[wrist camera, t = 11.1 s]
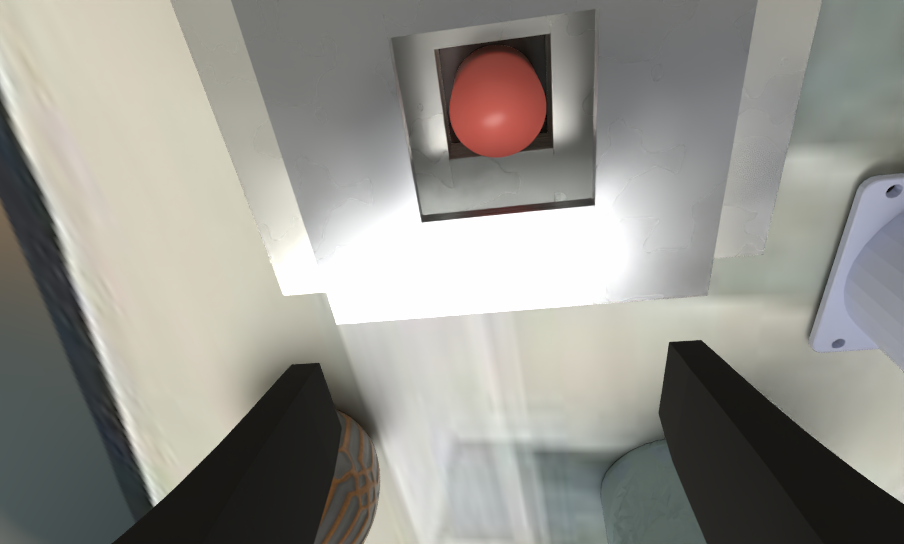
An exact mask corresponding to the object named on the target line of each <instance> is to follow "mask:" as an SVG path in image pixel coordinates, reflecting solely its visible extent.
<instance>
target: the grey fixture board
mask: <svg viewBox="0 0 904 544" xmlns="http://www.w3.org/2000/svg"><path fill="white" fill-rule="evenodd" d="M821 2H822V0H171V3H172V6H173V8H174V11H175V14H176V16H177V19H178V21H179V24H180V27H181V29H182V32H183V34H184V37H185V40H186V42H187V45H188V47H189V50H190V53H191V55H192V58H193V61H194V63H195V66H196V68H197V71H198V74H199V76H200V79H201V81H202V84H203V87H204V89H205V92H206V94H207V97H208V100H209V102H210V105H211V108H212V110H213V113H214V115H215V118H216V121H217V123H218V126H219V128H220V131H221V134H222V136H223V139H224V141H225V144H226V147H227V149H228V152H229V155H230V157H231V160H232V162H233V165H234V168H235V170H236V173H237V175H238V178H239V181H240V183H241V186H242V188H243V191H244V194H245V196H246V199H247V202H248V204H249V207H250V209H251V212H252V215H253V217H254V220H255V222H256V225H257V228H258V230H259V233H260V235H261V238H262V241H263V243H264V246H265V249H266V251H267V254H268V256H269V259H270V262H271V264H272V267H273V269H274V272H275V275H276V277H277V280H278V282H279V285H280V288H281V290H282V293H283V296H285V295H297V294H308V293H320V292H326V293H327V296H328V300H329V303H330V306H331V309H332V312H333V315H334V318H335V321H336V324H350V323H363V322H376V321H388V320H401V319H414V318H427V317H439V316H452V315H465V314H478V313H490V312H503V311H516V310H529V309H541V308H554V307H567V306H580V305H592V304H605V303H618V302H631V301H643V300H656V299H669V298H682V297H694V296H707V294H708V288H709V282H710V277H711V271H712V265H713V259H716V258H728V257H739V256H751V255H763V253H764V248H765V244H766V240H767V235H768V231H769V227H770V222H771V218H772V214H773V209H774V205H775V201H776V196H777V192H778V188H779V184H780V179H781V175H782V171H783V166H784V162H785V158H786V153H787V149H788V145H789V140H790V136H791V132H792V127H793V123H794V119H795V115H796V110H797V106H798V102H799V97H800V93H801V89H802V84H803V80H804V76H805V71H806V67H807V63H808V58H809V54H810V50H811V46H812V41H813V37H814V33H815V28H816V24H817V20H818V15H819V11H820V7H821ZM543 34H545V59H546V91H547V124H548V133H541V134H538V135H537V137H536V138H535V139H534V140H533V141H532V142H531V143H530V144H529V145H528V146H527V147H526V148H524V149H523V150H521V151H520V152H518V153H515V154H513V155H510V156H506V157H497V158H494V157H486V156H482V155H479V154H477V153H475V152H473V151H471V150H470V149H468V148H467V147H466V146H465V145H464V144H463V143H454V144H451V137H450V129H449V122H448V115H447V107H446V100H445V93H444V85H443V78H442V71H441V63H440V56H439V49H441V48H448V47H455V46H463V45H470V44H477V43H485V42H492V41H499V40H506V39H514V38H521V37H528V36H536V35H543Z"/></svg>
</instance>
